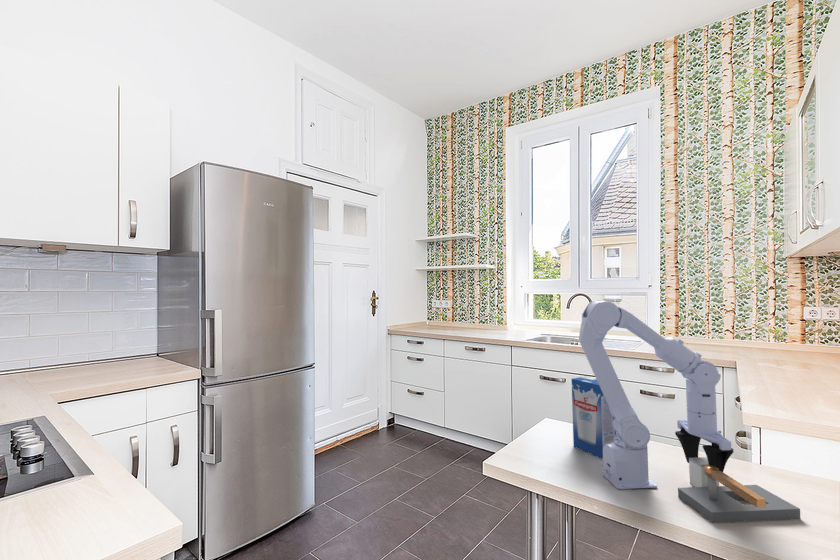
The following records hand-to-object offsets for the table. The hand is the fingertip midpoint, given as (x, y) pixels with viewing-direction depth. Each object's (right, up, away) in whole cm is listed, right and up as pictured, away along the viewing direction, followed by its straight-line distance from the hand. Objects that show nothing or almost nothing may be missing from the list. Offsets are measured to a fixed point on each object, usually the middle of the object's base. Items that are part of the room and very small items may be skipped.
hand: (703, 469), depth 94 cm
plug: (0, -4, 0) cm, 4 cm away
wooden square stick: (-5, +3, -15) cm, 16 cm away
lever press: (0, -4, -9) cm, 10 cm away
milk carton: (-16, -5, +22) cm, 28 cm away
